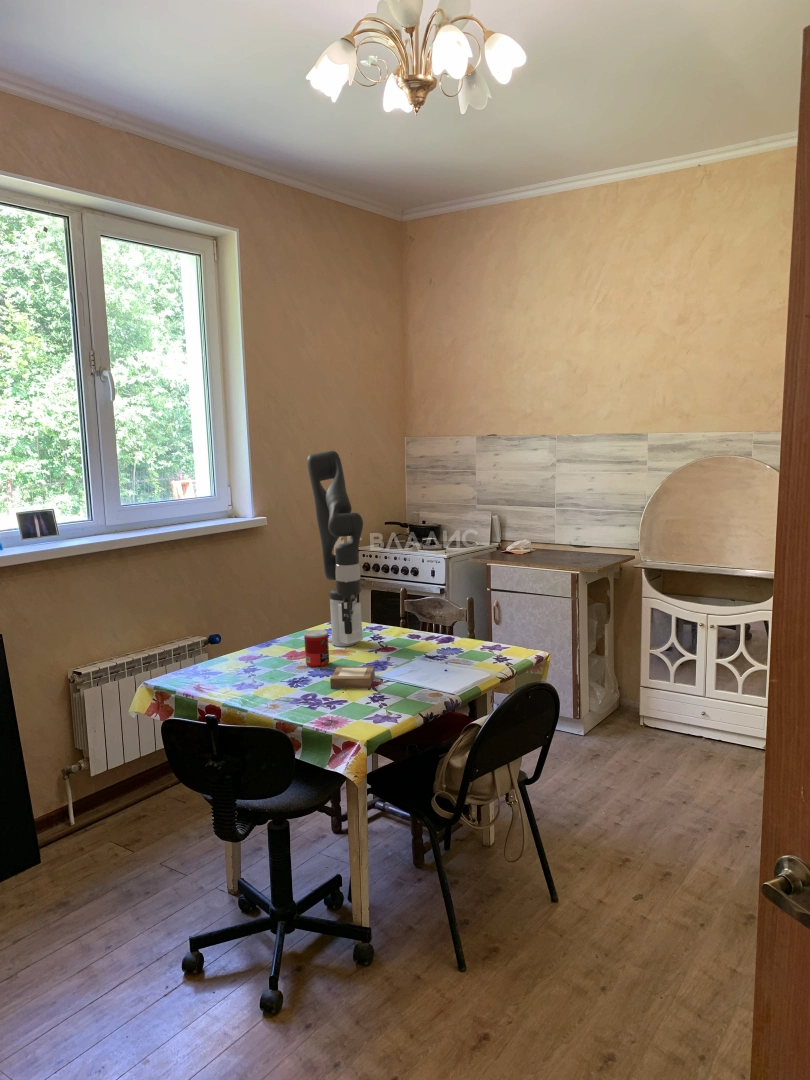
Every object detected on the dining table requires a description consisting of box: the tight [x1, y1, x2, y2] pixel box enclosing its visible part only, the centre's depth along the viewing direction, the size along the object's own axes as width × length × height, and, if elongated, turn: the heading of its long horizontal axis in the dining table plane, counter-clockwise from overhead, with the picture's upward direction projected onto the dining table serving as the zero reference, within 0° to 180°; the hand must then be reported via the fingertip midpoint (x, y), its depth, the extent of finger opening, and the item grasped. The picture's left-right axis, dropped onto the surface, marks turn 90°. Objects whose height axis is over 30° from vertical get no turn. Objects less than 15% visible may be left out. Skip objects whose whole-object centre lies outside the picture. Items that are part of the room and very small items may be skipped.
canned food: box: [303, 629, 330, 669], centre depth 250 cm, size 8×8×11 cm
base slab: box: [329, 665, 376, 689], centre depth 232 cm, size 12×12×3 cm
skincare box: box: [338, 601, 364, 644], centre depth 229 cm, size 6×4×12 cm
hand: (350, 630), depth 230 cm, fingers closed on skincare box, 7 cm apart
